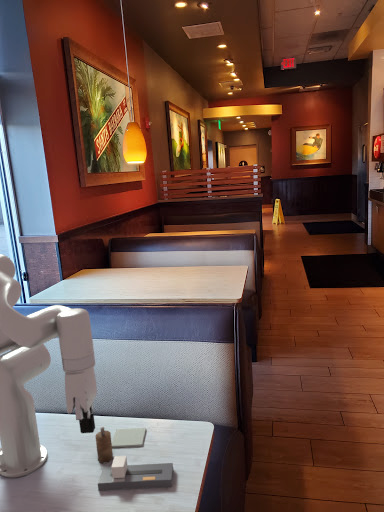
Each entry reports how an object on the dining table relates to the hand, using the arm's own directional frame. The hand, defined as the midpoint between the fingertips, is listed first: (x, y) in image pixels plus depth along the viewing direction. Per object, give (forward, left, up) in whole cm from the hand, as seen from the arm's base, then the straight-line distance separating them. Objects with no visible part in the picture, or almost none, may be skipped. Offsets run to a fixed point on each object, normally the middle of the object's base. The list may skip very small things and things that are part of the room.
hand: (88, 430), depth 99 cm
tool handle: (+1, +9, -14) cm, 17 cm away
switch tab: (+7, 0, -12) cm, 14 cm away
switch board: (+11, 0, -14) cm, 18 cm away
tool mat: (+6, +18, -14) cm, 23 cm away
